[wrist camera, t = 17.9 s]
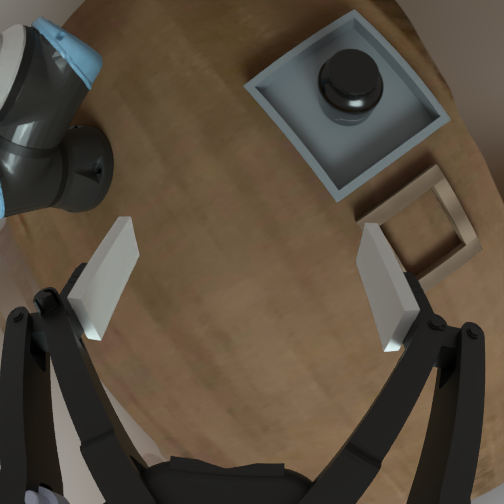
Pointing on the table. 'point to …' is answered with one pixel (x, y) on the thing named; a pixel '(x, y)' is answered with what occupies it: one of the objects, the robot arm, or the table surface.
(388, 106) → the bin
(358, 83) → the supplement bottle
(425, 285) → the socket collar
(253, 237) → the table surface
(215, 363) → the table surface
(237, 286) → the table surface
